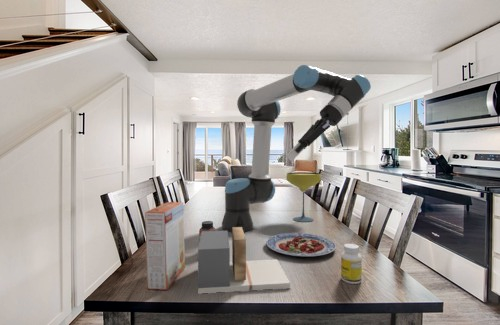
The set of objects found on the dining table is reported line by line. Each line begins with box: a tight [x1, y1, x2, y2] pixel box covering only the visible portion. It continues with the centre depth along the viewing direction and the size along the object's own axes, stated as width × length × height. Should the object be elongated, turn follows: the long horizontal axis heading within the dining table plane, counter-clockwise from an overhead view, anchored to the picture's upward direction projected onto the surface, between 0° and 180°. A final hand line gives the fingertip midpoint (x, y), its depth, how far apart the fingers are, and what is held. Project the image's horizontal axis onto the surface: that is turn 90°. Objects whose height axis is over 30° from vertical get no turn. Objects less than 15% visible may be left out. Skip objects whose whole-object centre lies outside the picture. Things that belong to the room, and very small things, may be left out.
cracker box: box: [144, 201, 186, 291], centre depth 77 cm, size 14×6×21 cm, turn 174°
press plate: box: [231, 227, 247, 281], centre depth 78 cm, size 3×12×11 cm, turn 7°
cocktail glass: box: [286, 171, 322, 223], centre depth 146 cm, size 18×18×25 cm
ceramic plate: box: [266, 232, 337, 258], centre depth 103 cm, size 26×26×3 cm
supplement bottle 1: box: [198, 220, 217, 243], centre depth 97 cm, size 6×6×11 cm
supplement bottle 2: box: [340, 243, 363, 285], centre depth 76 cm, size 5×5×10 cm
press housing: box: [197, 230, 291, 295], centre depth 78 cm, size 24×16×12 cm, turn 97°
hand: (288, 158), depth 95 cm, fingers closed
